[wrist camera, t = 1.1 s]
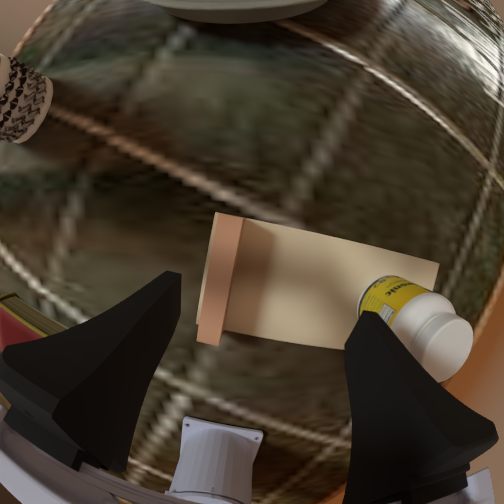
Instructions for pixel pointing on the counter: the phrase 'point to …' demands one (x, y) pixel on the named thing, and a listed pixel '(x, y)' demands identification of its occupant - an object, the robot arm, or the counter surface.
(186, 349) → the counter surface
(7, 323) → the hardcover book
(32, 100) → the decorative candle
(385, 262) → the strip
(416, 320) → the supplement bottle
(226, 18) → the cake pan
